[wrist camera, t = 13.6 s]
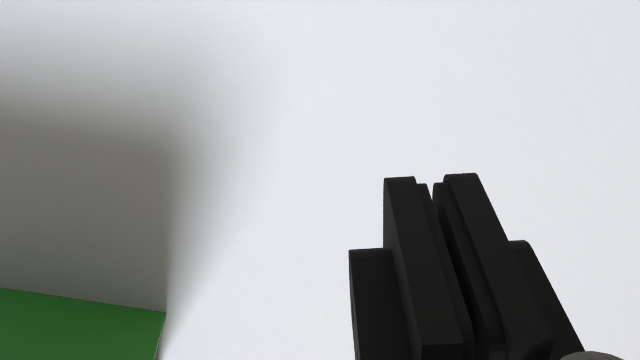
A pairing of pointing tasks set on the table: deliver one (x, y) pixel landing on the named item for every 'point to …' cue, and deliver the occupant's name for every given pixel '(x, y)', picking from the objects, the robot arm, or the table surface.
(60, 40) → the table surface
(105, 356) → the hardback book
